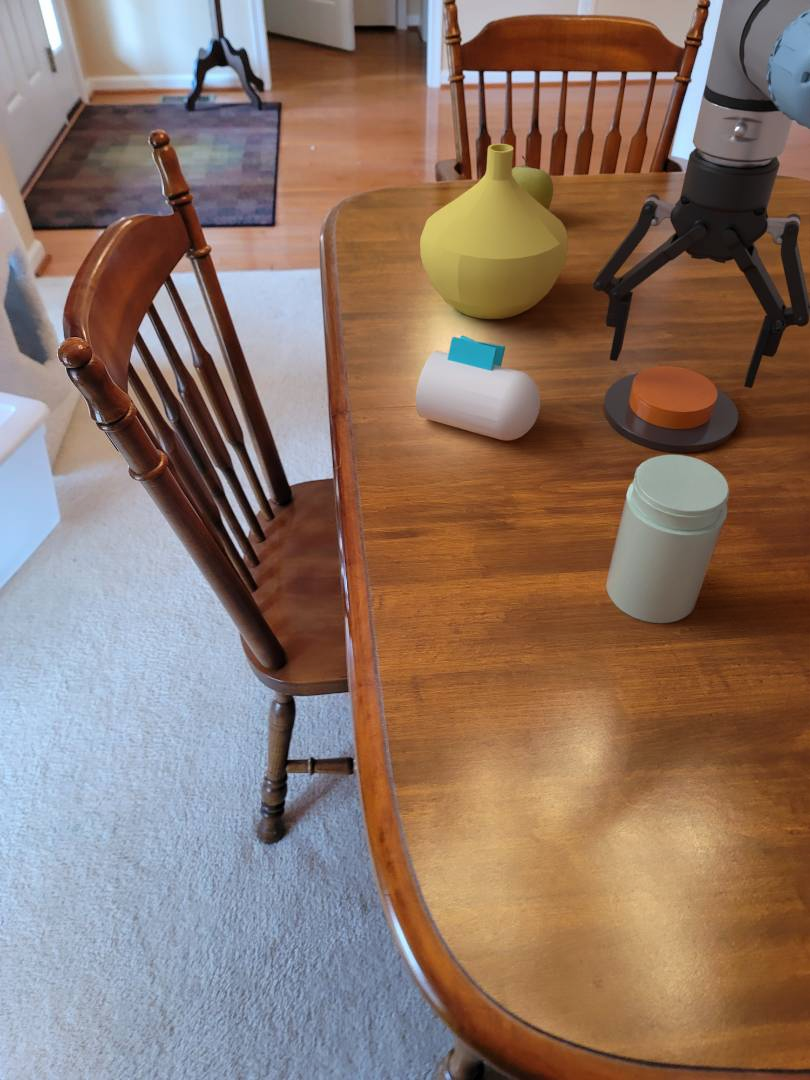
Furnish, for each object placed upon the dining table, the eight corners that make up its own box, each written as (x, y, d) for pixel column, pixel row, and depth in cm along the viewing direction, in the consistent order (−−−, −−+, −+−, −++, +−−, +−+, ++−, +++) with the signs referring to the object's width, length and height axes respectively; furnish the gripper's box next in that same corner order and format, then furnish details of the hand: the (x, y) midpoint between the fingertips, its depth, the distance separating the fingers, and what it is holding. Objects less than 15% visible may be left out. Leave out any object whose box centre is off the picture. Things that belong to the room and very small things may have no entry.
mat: (742, 394, 93) (745, 386, 92) (727, 466, 84) (730, 458, 83) (618, 368, 97) (619, 361, 96) (590, 435, 88) (591, 427, 87)
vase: (553, 270, 115) (571, 122, 102) (567, 337, 102) (591, 178, 89) (420, 269, 116) (422, 121, 103) (418, 336, 103) (419, 176, 89)
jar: (702, 572, 73) (739, 464, 65) (689, 634, 68) (727, 525, 60) (616, 549, 75) (641, 442, 67) (597, 607, 70) (621, 499, 62)
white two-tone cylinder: (540, 362, 79) (426, 334, 83) (519, 453, 83) (410, 422, 86) (570, 352, 89) (467, 327, 93) (550, 433, 93) (451, 406, 97)
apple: (522, 233, 122) (516, 159, 117) (493, 230, 128) (487, 160, 124) (566, 223, 125) (563, 150, 120) (536, 220, 131) (531, 151, 127)
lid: (640, 376, 94) (644, 358, 92) (719, 395, 91) (724, 377, 90) (619, 416, 88) (623, 399, 87) (703, 438, 85) (708, 420, 84)
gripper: (582, 148, 73) (554, 361, 87) (894, 188, 66) (806, 412, 80) (602, 122, 78) (571, 327, 92) (892, 157, 71) (810, 373, 85)
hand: (680, 367), depth 86 cm, fingers open, 13 cm apart
